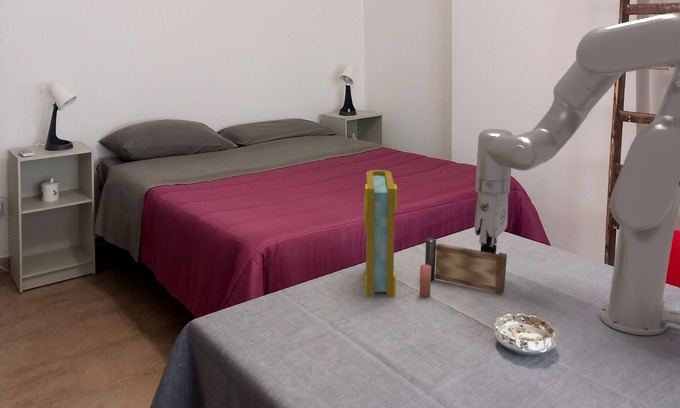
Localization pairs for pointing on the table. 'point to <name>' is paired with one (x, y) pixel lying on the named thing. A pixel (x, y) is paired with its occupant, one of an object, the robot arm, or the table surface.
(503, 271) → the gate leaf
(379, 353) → the table surface
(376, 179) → the book
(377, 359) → the table surface
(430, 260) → the gate post
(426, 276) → the post
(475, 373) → the table surface
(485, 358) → the table surface
